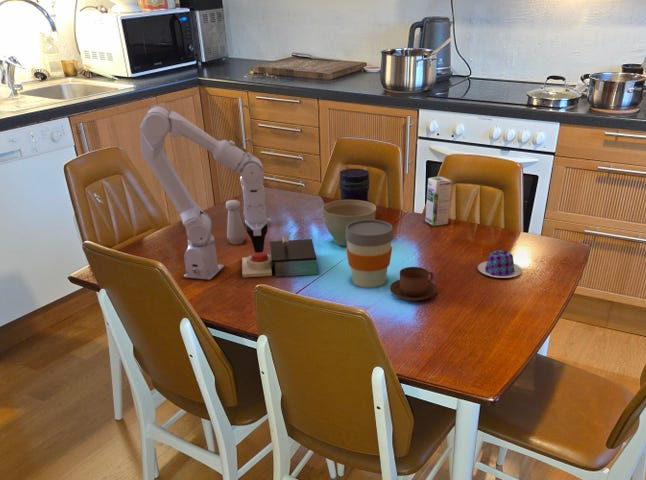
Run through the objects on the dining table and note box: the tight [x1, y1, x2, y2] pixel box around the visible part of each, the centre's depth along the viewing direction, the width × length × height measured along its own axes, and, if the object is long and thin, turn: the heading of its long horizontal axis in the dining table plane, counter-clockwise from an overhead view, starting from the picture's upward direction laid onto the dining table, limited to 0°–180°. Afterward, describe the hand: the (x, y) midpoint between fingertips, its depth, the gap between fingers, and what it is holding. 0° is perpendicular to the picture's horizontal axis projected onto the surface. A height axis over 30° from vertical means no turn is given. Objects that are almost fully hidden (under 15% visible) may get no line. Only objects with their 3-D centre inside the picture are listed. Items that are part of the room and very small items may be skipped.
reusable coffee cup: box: [345, 219, 394, 289], centre depth 170 cm, size 13×13×15 cm
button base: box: [241, 253, 274, 278], centre depth 181 cm, size 9×12×3 cm
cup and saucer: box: [389, 266, 438, 302], centre depth 164 cm, size 12×12×6 cm
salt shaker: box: [225, 199, 247, 245], centre depth 195 cm, size 6×6×13 cm
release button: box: [250, 251, 268, 262], centre depth 180 cm, size 4×4×2 cm
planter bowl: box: [322, 199, 377, 247], centre depth 195 cm, size 16×16×11 cm
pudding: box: [477, 249, 523, 279], centre depth 177 cm, size 12×12×5 cm
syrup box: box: [424, 176, 452, 227], centre depth 209 cm, size 6×6×14 cm
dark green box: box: [273, 259, 318, 278], centre depth 181 cm, size 11×14×4 cm
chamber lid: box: [269, 234, 318, 263], centre depth 179 cm, size 12×14×4 cm
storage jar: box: [338, 168, 370, 203], centre depth 214 cm, size 10×10×15 cm
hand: (259, 251), depth 179 cm, fingers closed
